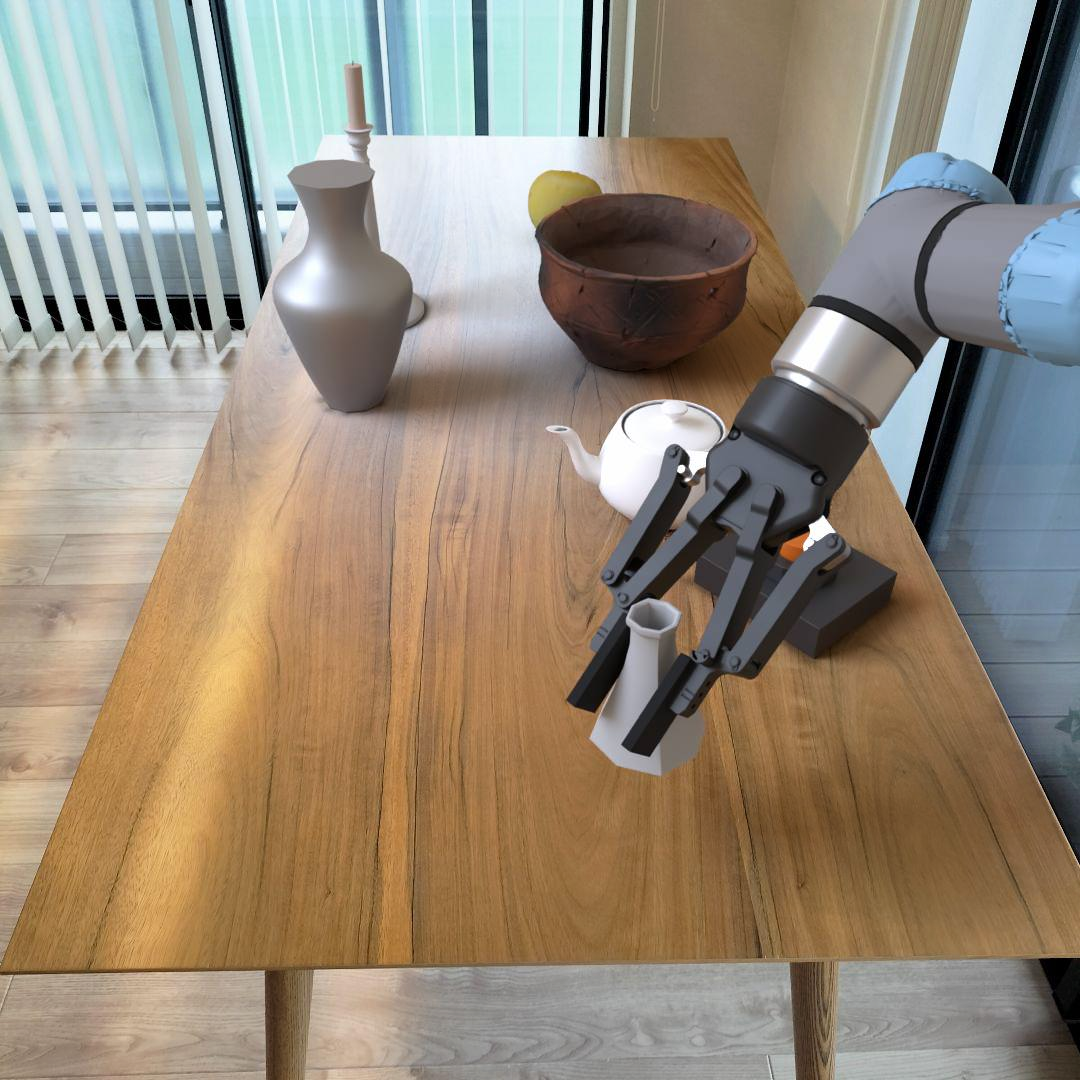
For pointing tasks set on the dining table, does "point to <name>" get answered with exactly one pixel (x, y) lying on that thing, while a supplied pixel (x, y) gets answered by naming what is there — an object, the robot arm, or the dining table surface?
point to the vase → (342, 290)
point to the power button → (794, 547)
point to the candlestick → (367, 160)
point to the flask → (647, 694)
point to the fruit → (557, 192)
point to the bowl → (642, 275)
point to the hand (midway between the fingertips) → (607, 727)
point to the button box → (830, 609)
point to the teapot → (644, 451)
